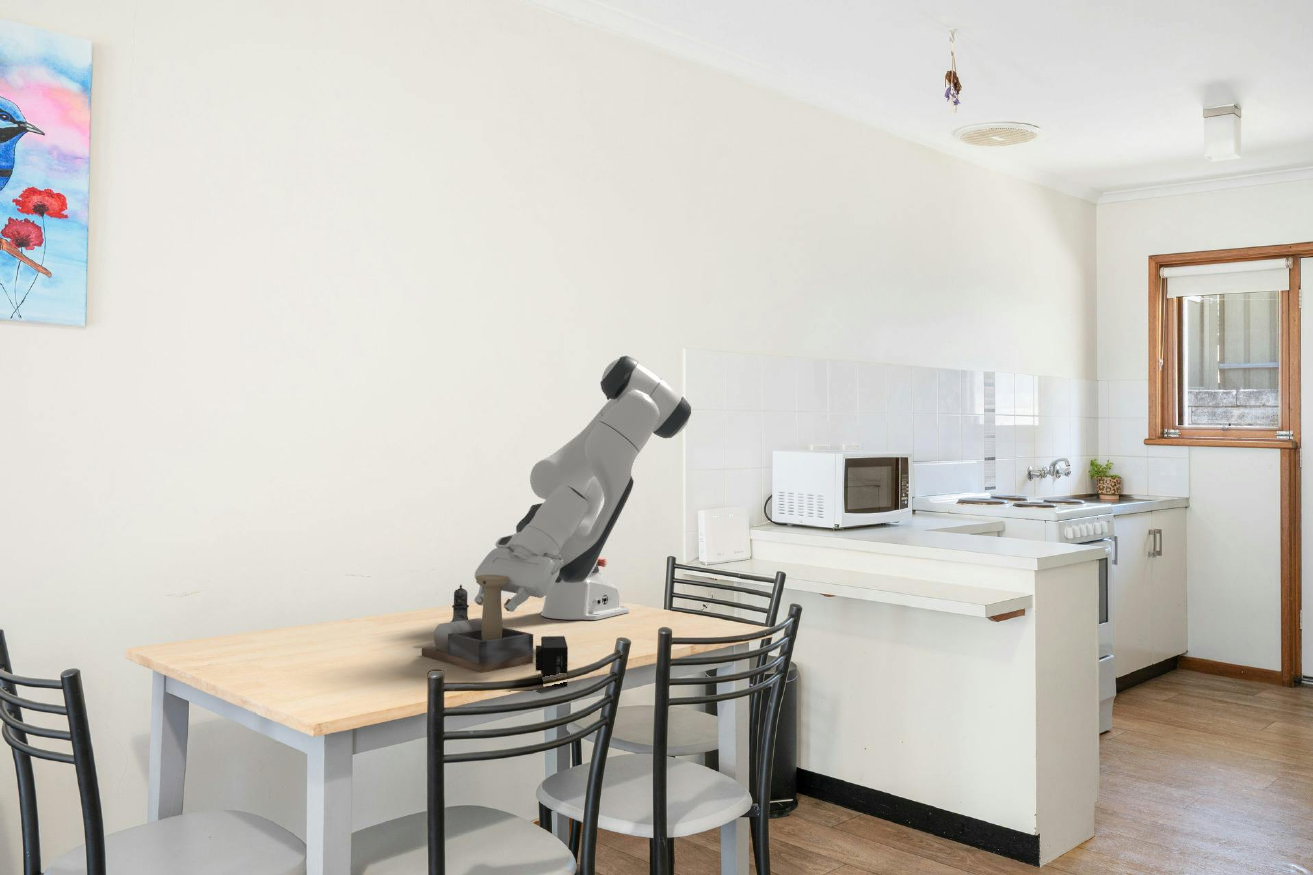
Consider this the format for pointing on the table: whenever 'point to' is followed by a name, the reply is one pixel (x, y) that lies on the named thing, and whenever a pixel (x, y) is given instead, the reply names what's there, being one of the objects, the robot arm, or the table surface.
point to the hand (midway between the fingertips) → (492, 606)
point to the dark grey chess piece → (460, 605)
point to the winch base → (479, 646)
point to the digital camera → (552, 657)
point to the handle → (492, 605)
